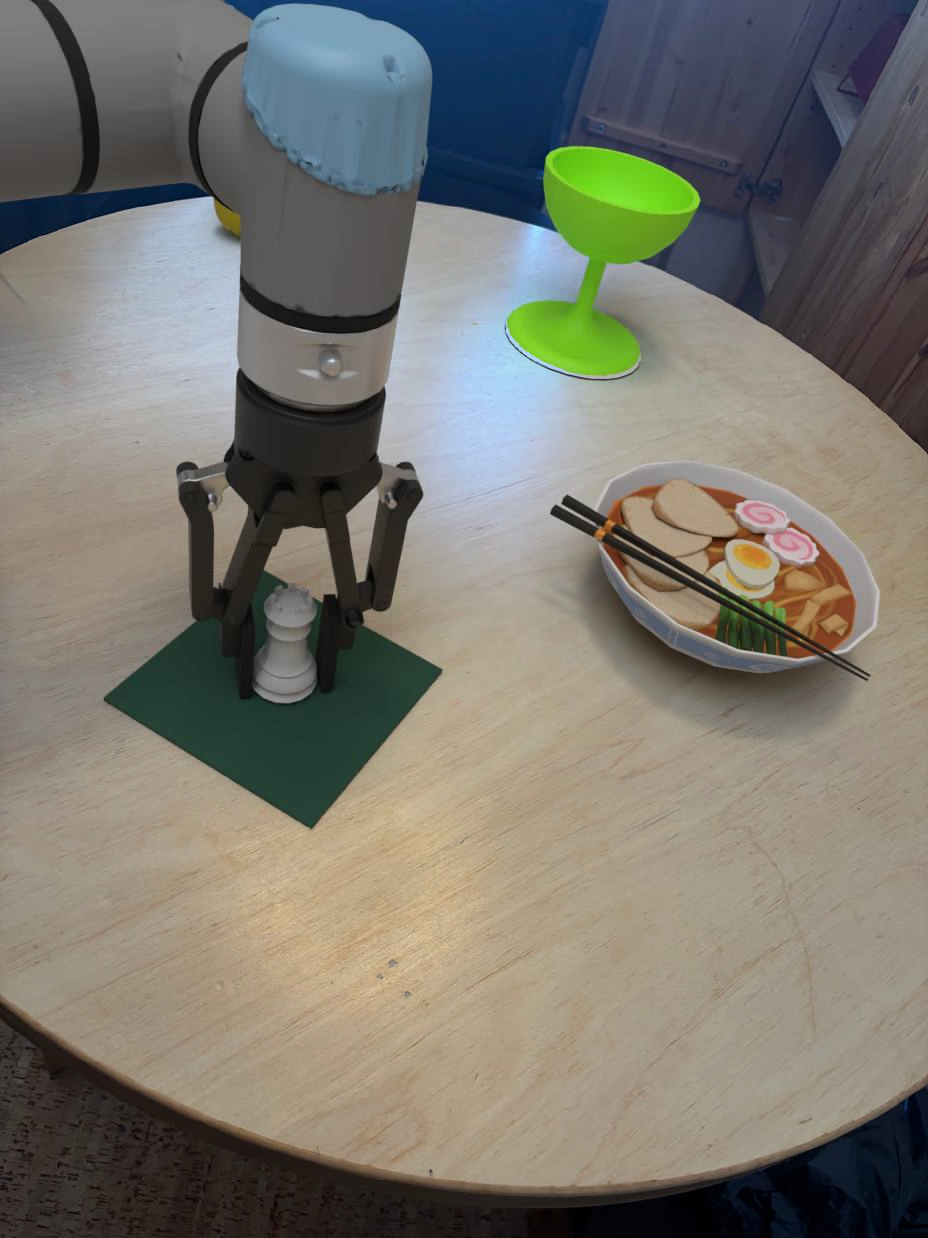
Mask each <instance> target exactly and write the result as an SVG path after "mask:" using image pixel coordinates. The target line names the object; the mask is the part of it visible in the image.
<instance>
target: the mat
mask: <svg viewBox="0 0 928 1238" xmlns="http://www.w3.org/2000/svg"><path fill="white" fill-rule="evenodd" d="M288 583H289V582H286V581H285V580H282V578H279V577H277V576H276V575H274V574H272V573H270V572H268V571H267V570H265V569H264V570H263V573H262V575H261V578H260V580H259V583H258V585H257V588H256V590H255V593H254V595H253V598H252V601H251V604H252V610H253V616H254V623H255V645H254V657H255V656H256V654H257V653H258V651H259V650H260V649H262V647H263V646H264V645H265V644H266V641H267V637H268V634H269V631H268V629H267V627H266V622H267V619H268V617H267V616H266V614H265V612H264V602H265V601H266V600H267V598H268V597H269V596H270V595H271V593H274V590H275V588H276V587H277V586H279V585H281V586H282V587H283V589H287V588H288ZM296 589H297V590H300V591H301V589H299V588H297V587H296ZM308 596H311V595H310V594H309V595H308ZM312 599H313V601H314V603H315V604H316V606H317V614H316V616H315V617H314V619H313V620H312V621H311V622H310V623H311V630H310V632H309V634H308V635H307V648H308V649H309V651H310V653H311V654H312V656H313V658H314V660H315V657H316V650H317V642H318V634H319V627H320V619H321V612H322V604H323V601H321V600H319V599H317V598H315V597H313V596H312ZM219 633H220V621H219V620H217V619H215V618H210V619H209V620H207V621H197V620H195V621H194V622H192V624H190V626H188V627H187V628H186V629H185V630H183V631H182V632H181V633H180V634H178V635H177V636H176V637H175V638H174V639H172V640H171V641H170V642H168V643H167V644H166V645H165V646H164V647H162V648H161V649H160V650H159V651H158V652H156V653H155V654H154V655H153V656H152V657H150V658H149V659H148V660H147V661H146V662H145V663H143V664H142V665H141V666H140V667H139V668H137V669H136V670H134V671H133V672H132V673H131V674H130V675H129V676H128V677H126V678H125V679H124V680H123V681H122V682H120V683H119V684H118V685H117V686H116V687H114V688H113V689H112V690H110V691H109V692H108V693H107V694H105V696H103V701H104V702H106V703H107V704H108V705H110V706H112V707H113V708H115V709H116V710H119V711H120V712H121V713H123V714H125V715H127V716H128V717H130V718H131V719H133V720H135V722H138V723H139V724H141V725H142V726H145V728H148V729H149V730H151V731H152V732H154V733H156V734H157V735H159V736H161V737H162V738H163V739H165V740H167V741H169V743H171V744H173V745H174V746H177V747H178V748H180V749H182V750H183V751H184V752H186V753H188V754H189V755H191V756H192V757H194V758H196V759H197V760H199V761H200V762H201V763H203V764H206V765H207V766H209V767H210V768H212V769H213V770H215V771H217V772H218V773H219V774H222V775H223V776H225V777H226V778H228V779H230V780H232V781H233V782H234V783H236V784H238V785H239V786H240V787H242V788H244V789H246V790H247V791H249V792H251V793H252V794H253V795H255V796H257V797H259V798H260V799H262V800H263V801H265V802H266V803H268V804H270V805H271V806H273V807H275V808H276V809H277V810H279V811H281V812H282V813H284V814H286V815H288V816H289V817H291V818H292V819H294V820H295V821H297V822H299V823H300V822H301V823H300V824H302V825H304V826H305V825H306V826H305V827H307V828H308V827H310V828H312V829H313V828H314V827H315V825H316V824H317V823H318V821H320V820H321V818H322V817H323V816H324V814H326V812H327V811H328V810H329V809H330V807H331V806H332V805H333V804H334V803H335V801H336V800H337V799H338V798H339V796H340V795H341V794H342V793H343V792H344V791H345V789H346V788H347V787H348V786H349V785H350V783H352V781H353V780H354V778H355V777H356V776H357V775H358V774H359V773H360V771H361V770H362V769H363V768H364V767H365V765H366V764H367V763H368V762H369V760H370V759H372V757H373V755H375V753H376V752H377V751H378V750H379V749H380V747H381V746H382V745H383V743H384V742H385V741H386V740H387V738H388V737H389V736H390V735H391V734H392V733H393V731H394V730H395V729H396V728H397V727H398V726H399V724H400V723H401V722H402V721H403V719H405V717H406V716H407V715H408V714H409V712H410V711H412V709H413V708H414V707H415V705H416V704H417V703H418V701H419V700H420V699H421V698H422V697H423V695H425V693H426V692H427V691H428V689H430V687H431V686H432V685H433V683H434V682H435V681H436V680H437V678H438V677H439V676H440V675H441V674H442V672H443V668H441V667H439V666H438V665H436V664H434V663H432V662H430V661H429V660H426V659H425V658H423V657H422V656H419V655H418V654H416V653H414V652H412V651H410V650H408V649H407V648H405V647H403V646H401V645H400V644H399V643H396V642H394V641H392V640H391V639H388V638H387V637H386V636H383V635H382V634H380V633H378V632H376V631H374V630H373V629H371V628H369V627H368V626H366V625H364V624H363V626H361V627H360V628H358V629H356V635H355V641H354V645H353V646H352V647H351V649H345V650H339V651H338V657H337V664H336V670H335V677H334V683H333V690H332V692H321V690H320V685H319V680H318V675H317V681H316V686H315V687H314V689H313V691H312V693H311V694H309V695H308V696H306V697H305V698H303V699H302V700H300V701H297V702H293V703H289V704H280V703H274V702H271V701H269V700H266V699H264V698H263V697H262V696H260V695H259V694H258V693H257V692H256V691H255V690H254V689H253V687H252V695H251V698H241V699H240V698H239V690H238V683H237V676H236V668H235V666H236V657H224V656H223V654H222V652H221V645H220V636H219ZM361 768H362V769H361ZM356 774H357V775H356ZM351 780H352V781H351ZM346 786H347V787H346ZM326 810H327V811H326ZM325 811H326V812H325ZM321 816H322V817H321ZM315 823H316V824H315ZM310 828H309V829H310Z"/></svg>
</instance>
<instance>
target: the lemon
mask: <svg viewBox="0 0 928 1238" xmlns="http://www.w3.org/2000/svg"><path fill="white" fill-rule="evenodd" d="M213 207H214V210H215V215H216V217H217V219H218V221H219V222H220V223H221V225H222V226H223V227H224V228H225V229H227V230H228V231H230V232H232V233H233V235H235V236H236V237H241V219H240V216H239V215H238V214H237V213H235V212H232V211H231V210H229V209H227V208H226V207H224V206H223V205H221V204H220V203H219V202H218V201H216V200H215V199H214V198H213Z"/></svg>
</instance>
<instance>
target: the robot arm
mask: <svg viewBox="0 0 928 1238" xmlns="http://www.w3.org/2000/svg"><path fill="white" fill-rule="evenodd" d="M432 87H433V70H432V64H431V61H430V58H429V56H428V54H427V52H426V50H425V49H424V47H423V46H422V44H420V42H419V41H418V40H417V39H416V38H415V37H413V36H412V35H411V34H410V33H408V32H407V31H406V30H404V29H402V28H400V27H399V26H396V25H394V24H392V23H390V22H388V21H386V20H385V21H384V20H379V19H373V18H371V17H368V16H366V15H365V14H362V13H360V12H358V11H356V10H355V11H354V10H350V9H346V8H342V7H336V6H330V5H329V6H328V5H324V4H323V5H322V4H316V3H315V4H314V3H285V4H277V5H273V6H271V7H268V8H266V9H264V10H263V11H261V12H260V13H259V14H258V15H256V17H255V18H254V20H253V18H250V17H248V16H247V15H246V14H244V13H242V12H241V11H239V10H238V9H236V8H235V7H234V6H233V5H230V4H229V3H228V2H227V1H226V0H0V203H6V202H7V203H8V202H15V201H22V200H31V199H39V198H45V197H47V198H48V197H55V196H63V195H64V196H66V195H67V196H68V195H84V194H85V195H87V194H94V193H95V194H97V193H104V192H112V191H121V190H130V189H131V190H132V189H139V188H148V187H156V186H164V185H173V184H192V185H195V186H196V187H198V188H199V189H200V190H202V191H204V192H205V193H206V194H208V195H209V196H210V197H212V198H213V200H214V199H215V200H216V201H218V202H219V203H220V204H221V205H223V206H224V207H226V208H227V209H229V210H231V211H232V212H235V213H237V214H238V215H239V216H240V219H241V236H240V262H239V263H240V264H239V282H238V283H239V290H238V291H239V292H238V293H239V294H238V316H237V337H236V338H237V341H236V358H237V364H238V369H237V370H236V371H237V372H236V378H235V406H234V435H233V440H232V443H231V445H230V446H229V448H228V449H227V450H226V452H225V454H224V457H223V460H222V461H221V462H218V463H214V464H210V465H208V466H207V465H206V466H204V467H200V468H199V466H198V465H197V464H196V463H194V462H193V461H182V462H181V463H179V464H177V466H176V468H175V473H176V484H177V494H178V501H179V504H180V506H181V508H182V509H183V512H184V513H185V516H186V518H187V519H188V521H187V522H188V524H187V525H188V527H187V528H188V529H187V530H188V531H187V532H188V533H187V534H188V589H189V600H190V609H191V616H192V618H193V620H195V621H207V620H209V619H210V618H215V619H217V620H219V621H220V633H219V636H220V645H221V652H222V654H223V656H224V657H236V666H235V668H236V676H237V683H238V690H239V698H240V699H241V698H251V695H252V678H253V662H254V645H255V623H254V616H253V610H252V604H251V601H252V598H253V595H254V593H255V590H256V588H257V585H258V583H259V580H260V578H261V575H262V573H263V570H265V568H266V565H267V563H268V560H269V557H270V554H271V552H272V549H273V548H276V547H277V545H278V544H279V541H280V538H281V535H282V534H283V530H289V529H295V528H299V527H307V528H311V529H312V528H313V529H324V532H325V538H326V542H327V548H328V552H329V557H330V563H331V568H332V573H333V577H334V583H335V588H336V593H337V594H336V593H324V594H323V598H322V603H323V604H322V612H321V619H320V627H319V634H318V642H317V650H316V657H315V662H316V665H317V675H318V680H319V685H320V690H321V692H332V690H333V683H334V677H335V670H336V664H337V657H338V651H339V650H345V649H351V647H352V646H353V645H354V641H355V635H356V629H358V628H360V627H361V626H363V625H364V624H365V618H364V613H365V612H366V611H369V610H373V611H375V612H376V613H383V612H387V611H388V610H389V609H390V608H391V606H392V601H393V598H394V592H395V589H396V588H395V587H396V584H397V583H396V582H397V576H398V573H399V567H400V563H401V559H402V558H401V557H402V552H403V547H404V543H405V538H406V532H407V529H408V524H409V520H410V518H411V517H412V515H413V514H414V512H415V510H416V509H417V507H418V506H419V504H420V503H421V501H422V499H423V498H424V490H423V487H422V485H421V483H420V479H419V477H418V474H417V472H416V468H415V466H414V464H413V463H411V462H410V461H401V462H399V463H397V464H396V465H395V466H394V465H391V464H388V463H384V462H381V461H380V457H379V454H378V448H379V444H380V443H379V442H380V436H381V430H382V423H383V419H384V412H385V407H386V406H385V405H386V400H387V399H386V398H387V391H386V384H387V383H388V380H389V377H390V371H391V365H392V357H393V351H394V344H395V337H396V332H397V331H396V330H397V325H398V319H399V318H398V317H399V310H400V307H401V300H402V292H403V287H404V281H405V275H406V270H407V269H406V268H407V264H408V263H407V262H408V257H409V251H410V244H411V240H412V239H411V238H412V233H413V228H414V227H413V226H414V221H415V215H416V210H417V209H416V208H417V202H418V197H419V192H420V188H421V182H422V177H423V176H424V175H425V170H426V166H427V163H428V157H429V155H428V151H429V148H428V147H427V144H428V143H427V142H428V131H429V120H430V109H431V99H432ZM229 487H231V489H232V490H233V491H234V492H235V493H236V494H237V495H238V496H239V497H240V499H241V500H242V501H243V502H244V503H245V504H246V505H247V514H246V518H245V520H244V523H243V526H242V529H241V531H240V534H239V537H238V540H237V542H236V545H235V548H234V551H233V553H232V556H231V559H230V562H229V565H228V567H227V570H226V573H225V576H224V578H223V581H222V584H221V582H218V587H215V586H214V579H215V578H214V573H215V572H214V568H215V566H214V565H215V524H214V516H213V512H216V511H217V510H218V509H219V506H220V505H221V504H222V503H223V492H224V491H225V490H226V489H227V488H229ZM375 488H376V492H377V496H378V501H377V506H376V513H375V519H374V525H373V530H372V535H371V541H370V548H369V554H368V558H367V559H368V560H367V564H366V565H367V566H366V571H365V577H364V580H361V581H358V580H357V574H356V568H355V567H356V566H355V562H354V555H353V551H352V544H351V535H350V529H349V523H348V518H347V515H348V514H349V513H350V512H351V511H352V510H353V509H354V508H355V507H357V505H359V503H360V502H362V501H363V500H364V499H365V498H366V497H367V496H368V495H369V493H371V492H372V491H373V490H374V489H375Z"/></svg>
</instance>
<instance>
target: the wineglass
mask: <svg viewBox="0 0 928 1238" xmlns="http://www.w3.org/2000/svg"><path fill="white" fill-rule="evenodd" d="M544 161H545V162H544V171H543V176H542V177H543V178H542V181H543V184H542V185H543V193H544V202H545V207H546V210H547V212H548V215H549V217H550V219H551V221H552V224H553V226H554V228H555V230H556V231H557V233H558V234H559V235H560V236H561V237H562V238H563V240H564V241H565V242H566V244H567V245H568V246H570V247H571V248H572V249H573V250H574V251H576V252H577V253H579V254H581V255H583V256H585V257H587V258H588V262H587V264H586V268H585V271H584V275H583V278H582V281H581V285H580V288H579V292H578V294H577V298H576V301H575V302H570V301H564V300H551V299H549V300H546V299H545V300H535V301H531V302H528V303H523V304H522V305H520V306H519V307H516V308H515V309H513V310H512V311H511V312H512V313H511V312H510V313H511V314H510V313H509V315H510V316H509V315H508V316H509V317H507V318H506V320H507V326H508V327H507V328H508V329H509V332H510V335H511V336H512V337H513V339H515V341H516V342H517V343H519V346H520V347H522V348H523V349H524V350H525V351H527V352H529V353H530V354H531V355H533V356H535V357H536V358H539V359H540V360H541V361H543V362H546V363H548V364H551V365H554V366H555V367H558V368H561V369H563V370H566V371H567V372H571V373H577V374H583V375H587V376H588V375H593V376H594V375H595V376H596V375H601V376H604V375H606V376H607V375H609V374H611V375H612V374H618V373H621V372H624V371H626V370H628V369H630V368H631V367H633V365H635V363H637V361H638V358H639V355H640V354H641V355H642V352H640V350H641V347H640V348H639V346H640V344H639V342H638V340H637V339H636V337H635V335H634V334H633V333H632V332H631V331H630V330H629V329H628V328H627V327H625V325H623V324H622V323H621V322H620V321H618V320H617V319H615V318H613V317H612V316H610V315H608V314H607V313H605V312H604V313H603V312H602V311H600V310H597V309H594V304H595V302H596V299H597V295H598V292H599V289H600V286H601V282H602V279H603V276H604V273H605V271H606V266H607V264H613V265H628V264H632V263H636V262H637V263H638V262H639V261H644V260H647V259H650V258H652V257H654V256H656V255H657V254H658V253H660V252H661V251H663V250H664V249H666V248H667V247H669V246H671V245H672V244H674V243H675V241H676V240H678V238H679V237H680V236H681V235H682V234H683V233H684V231H686V229H687V228H688V227H689V225H690V224H691V222H692V219H693V218H694V215H695V214H696V213H697V210H698V208H699V205H700V202H701V198H700V194H699V192H698V191H697V190H696V189H695V187H694V186H693V185H692V184H691V183H690V182H688V181H687V180H686V179H684V178H683V177H682V176H680V175H679V174H677V173H675V172H673V171H671V170H669V169H668V168H666V167H664V166H662V165H659V164H657V163H655V162H653V161H650V160H647V159H645V158H641V157H639V156H635V155H633V154H629V153H627V152H626V153H625V152H622V151H618V150H613V149H609V148H601V147H595V146H581V145H580V146H579V145H578V146H577V145H573V146H572V145H571V146H564V147H558V148H556V149H554V150H552V151H551V150H550V152H549V153H548V154H547V155H546V157H545V160H544ZM638 344H639V345H638Z"/></svg>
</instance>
